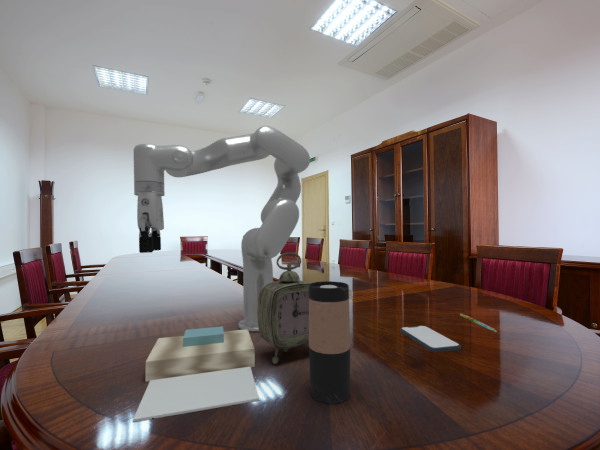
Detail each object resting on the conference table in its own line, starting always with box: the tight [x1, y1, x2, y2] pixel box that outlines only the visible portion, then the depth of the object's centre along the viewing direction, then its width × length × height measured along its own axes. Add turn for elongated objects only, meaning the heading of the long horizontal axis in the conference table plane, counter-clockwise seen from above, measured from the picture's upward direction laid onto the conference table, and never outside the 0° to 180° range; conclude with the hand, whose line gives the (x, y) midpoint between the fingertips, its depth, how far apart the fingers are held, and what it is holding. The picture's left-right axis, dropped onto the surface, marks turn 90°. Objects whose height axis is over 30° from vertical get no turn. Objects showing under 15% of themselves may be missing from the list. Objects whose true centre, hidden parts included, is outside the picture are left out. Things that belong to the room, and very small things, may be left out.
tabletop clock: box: [257, 251, 312, 365], centre depth 72 cm, size 14×9×25 cm, turn 122°
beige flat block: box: [145, 329, 256, 383], centre depth 69 cm, size 22×14×4 cm, turn 106°
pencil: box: [459, 313, 498, 333], centre depth 94 cm, size 1×1×18 cm
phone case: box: [399, 325, 462, 353], centre depth 80 cm, size 9×2×16 cm
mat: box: [132, 367, 260, 423], centre depth 55 cm, size 20×13×1 cm, turn 106°
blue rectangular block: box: [183, 325, 225, 347], centre depth 71 cm, size 9×6×2 cm, turn 106°
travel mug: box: [308, 280, 351, 405], centre depth 54 cm, size 8×8×20 cm
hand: (150, 251), depth 81 cm, fingers open, 9 cm apart
